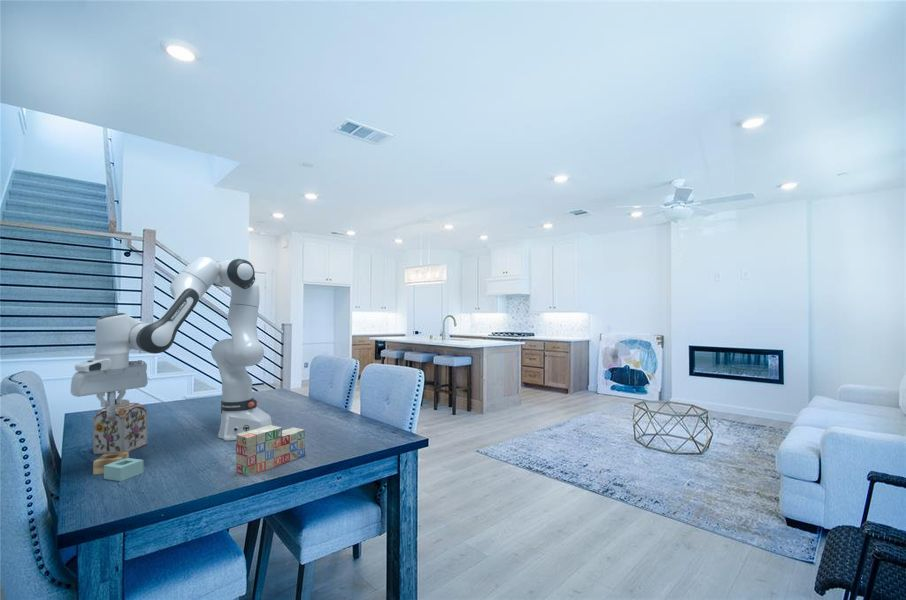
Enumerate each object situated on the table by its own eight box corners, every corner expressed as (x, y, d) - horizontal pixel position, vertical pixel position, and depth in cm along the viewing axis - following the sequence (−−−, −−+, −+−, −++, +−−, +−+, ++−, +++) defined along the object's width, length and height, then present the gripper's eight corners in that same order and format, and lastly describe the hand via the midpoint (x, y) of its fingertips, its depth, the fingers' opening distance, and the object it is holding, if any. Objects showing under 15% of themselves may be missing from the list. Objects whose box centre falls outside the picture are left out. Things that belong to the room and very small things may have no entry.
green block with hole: (143, 472, 135) (143, 459, 135) (120, 481, 129) (120, 468, 129) (127, 470, 137) (127, 457, 138) (103, 478, 131) (103, 465, 131)
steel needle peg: (116, 419, 140) (117, 379, 140) (111, 421, 138) (112, 380, 138) (109, 419, 140) (110, 379, 140) (104, 421, 138) (105, 380, 138)
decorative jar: (119, 443, 164) (119, 396, 165) (148, 444, 164) (148, 397, 164) (91, 454, 152) (91, 404, 153) (122, 455, 152) (122, 404, 152)
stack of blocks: (294, 453, 153) (294, 418, 153) (305, 456, 150) (305, 421, 150) (235, 472, 135) (235, 433, 135) (247, 477, 132) (247, 437, 132)
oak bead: (128, 463, 143) (128, 451, 143) (119, 471, 136) (119, 459, 136) (103, 466, 141) (103, 454, 141) (93, 474, 134) (93, 461, 134)
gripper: (141, 359, 150) (141, 398, 150) (68, 366, 132) (67, 411, 131) (151, 360, 147) (151, 400, 147) (78, 367, 129) (77, 413, 129)
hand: (111, 405), depth 139 cm, fingers closed on steel needle peg, 2 cm apart
